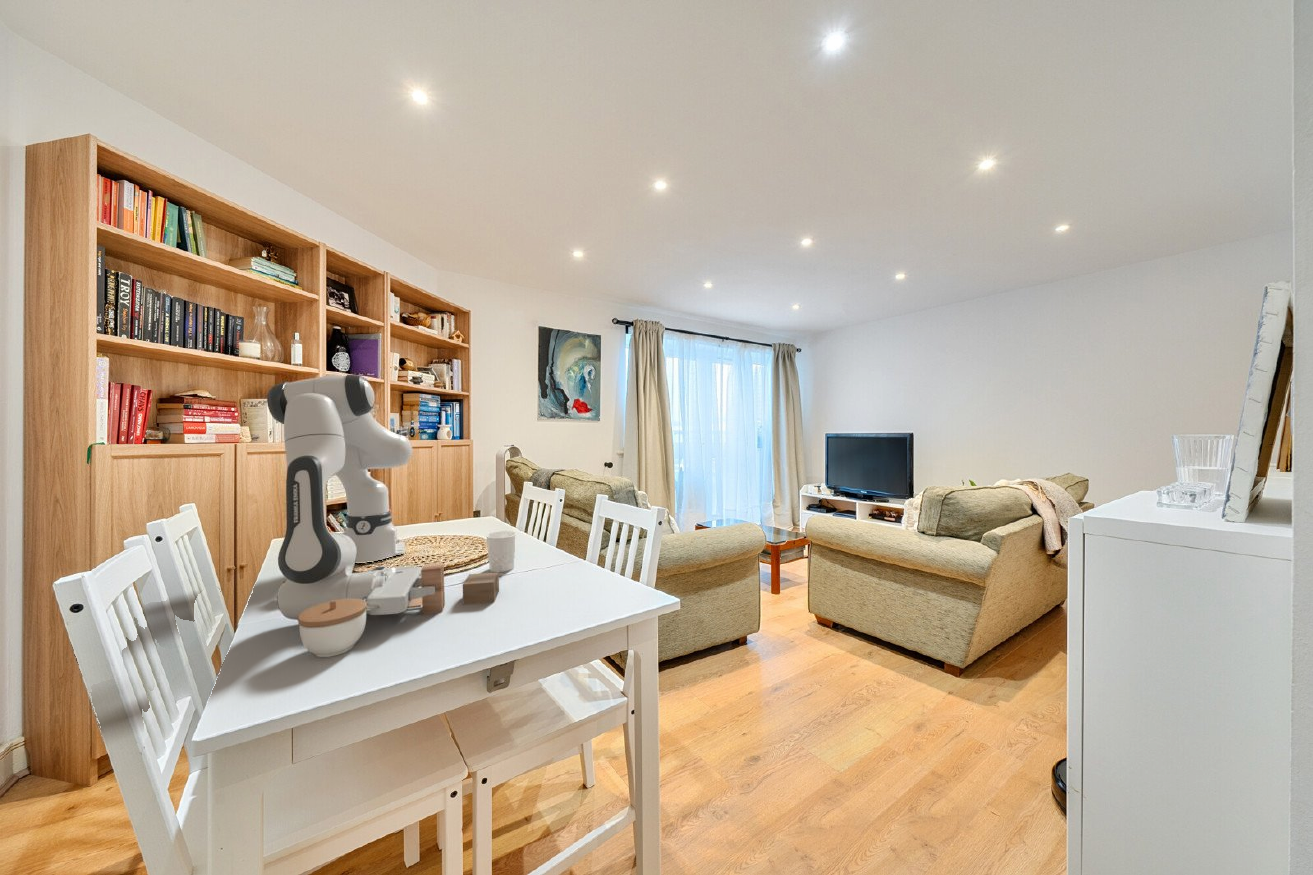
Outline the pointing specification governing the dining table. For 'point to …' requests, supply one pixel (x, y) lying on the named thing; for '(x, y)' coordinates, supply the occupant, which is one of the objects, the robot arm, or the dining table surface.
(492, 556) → the white cup
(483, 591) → the walnut block
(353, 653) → the dining table surface
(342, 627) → the lidded jar
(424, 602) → the cherry post
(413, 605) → the swatch tile
